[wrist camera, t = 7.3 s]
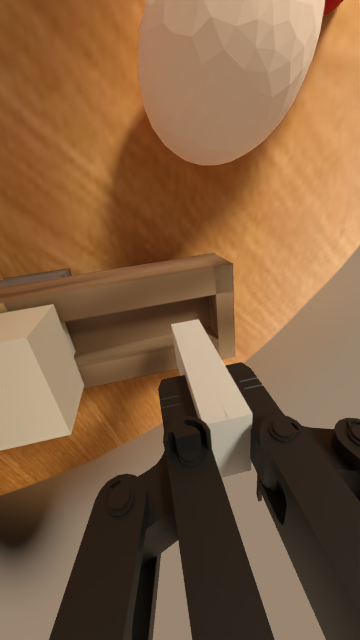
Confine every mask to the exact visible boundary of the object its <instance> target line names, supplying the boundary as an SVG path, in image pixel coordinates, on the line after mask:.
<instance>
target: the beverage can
mask: <svg viewBox="0 0 360 640" xmlns="http://www.w3.org/2000/svg"><path fill="white" fill-rule="evenodd" d="M342 1H343V0H325V6H324V12H323V16H324V15H326V14H328V13H329V12H331V11H332V10H334V9H335V8H336V7H337V6H338V5H339V4H340V3H341V2H342Z"/></svg>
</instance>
